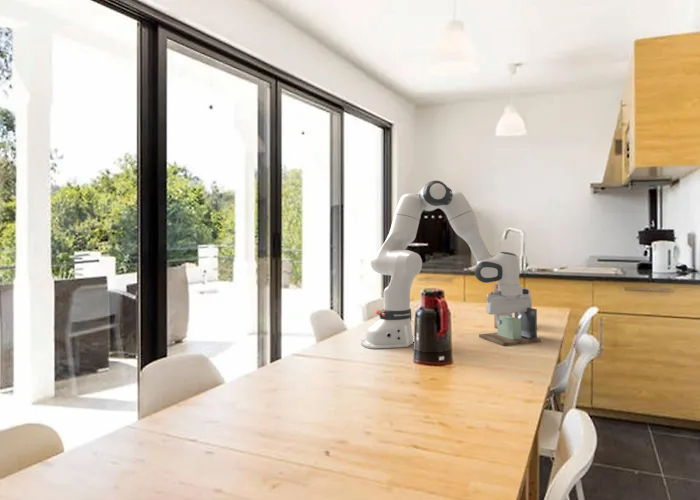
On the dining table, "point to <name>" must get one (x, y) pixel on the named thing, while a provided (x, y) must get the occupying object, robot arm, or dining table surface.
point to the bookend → (528, 323)
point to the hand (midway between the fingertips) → (509, 323)
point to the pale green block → (509, 327)
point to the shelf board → (507, 339)
